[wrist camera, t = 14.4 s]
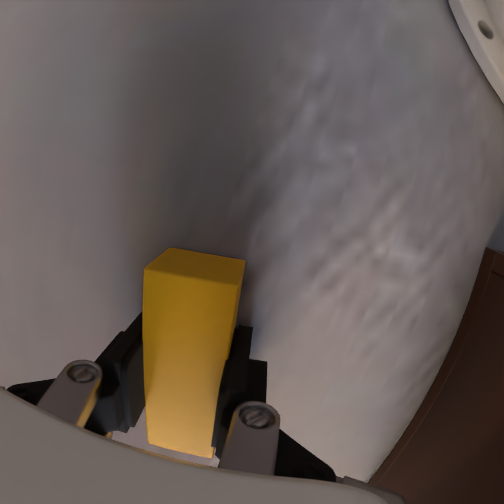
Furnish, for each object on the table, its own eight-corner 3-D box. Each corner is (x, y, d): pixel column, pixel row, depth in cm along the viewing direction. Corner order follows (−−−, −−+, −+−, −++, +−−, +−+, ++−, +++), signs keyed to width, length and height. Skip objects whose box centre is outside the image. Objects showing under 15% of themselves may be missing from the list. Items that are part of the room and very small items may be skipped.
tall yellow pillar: (169, 246, 11) (142, 267, 8) (246, 260, 11) (239, 285, 8) (163, 420, 13) (148, 456, 11) (218, 432, 13) (210, 470, 11)
